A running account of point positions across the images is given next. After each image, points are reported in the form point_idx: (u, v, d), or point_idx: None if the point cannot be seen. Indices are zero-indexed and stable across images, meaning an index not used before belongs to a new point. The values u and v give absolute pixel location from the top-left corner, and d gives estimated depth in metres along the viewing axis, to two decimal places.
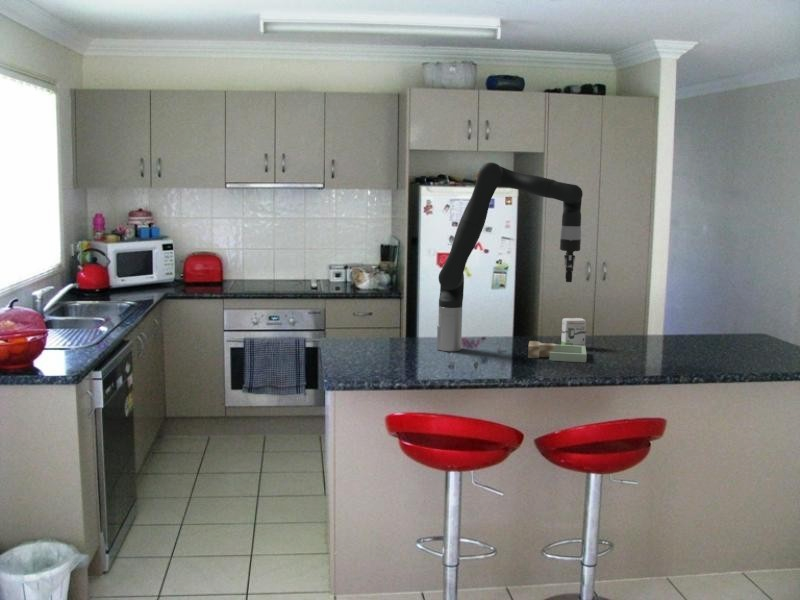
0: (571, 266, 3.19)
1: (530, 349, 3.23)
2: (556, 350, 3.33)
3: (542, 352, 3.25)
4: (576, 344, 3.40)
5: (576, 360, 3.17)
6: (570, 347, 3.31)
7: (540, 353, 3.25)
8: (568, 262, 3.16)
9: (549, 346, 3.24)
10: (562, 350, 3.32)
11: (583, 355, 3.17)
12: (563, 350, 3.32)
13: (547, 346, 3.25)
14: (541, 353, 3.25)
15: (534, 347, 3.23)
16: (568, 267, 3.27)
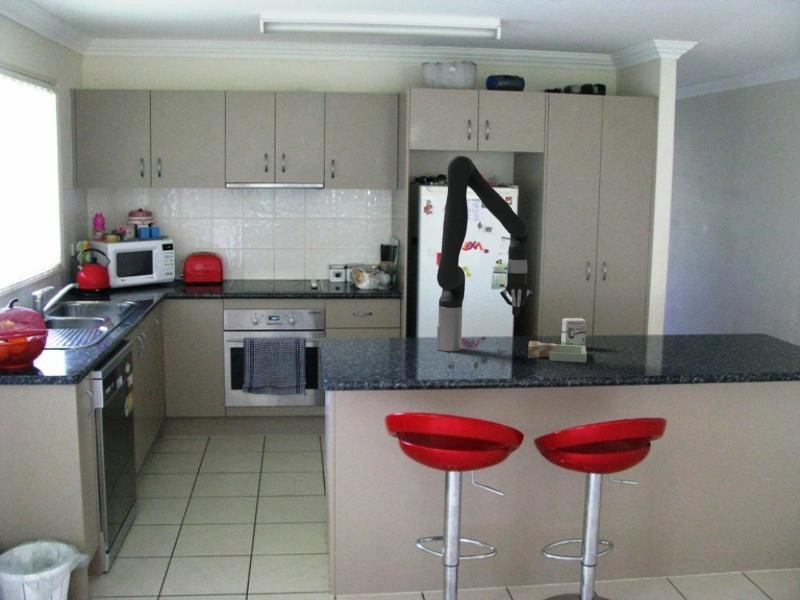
0: (519, 300, 3.27)
1: (530, 349, 3.23)
2: (556, 350, 3.33)
3: (542, 352, 3.25)
4: (576, 344, 3.40)
5: (576, 360, 3.17)
6: (570, 347, 3.31)
7: (540, 353, 3.25)
8: (528, 299, 3.25)
9: (549, 346, 3.24)
10: (562, 350, 3.32)
11: (583, 355, 3.17)
12: (563, 350, 3.32)
13: (547, 346, 3.25)
14: (541, 353, 3.25)
15: (534, 347, 3.23)
16: (515, 304, 3.26)
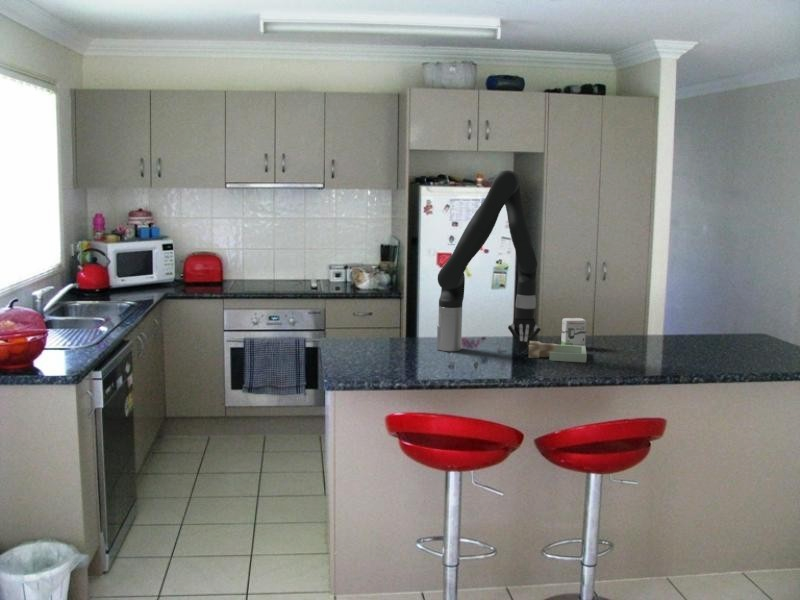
0: None
1: (530, 349, 3.23)
2: (556, 350, 3.33)
3: (542, 352, 3.25)
4: (576, 344, 3.40)
5: (576, 360, 3.17)
6: (570, 347, 3.31)
7: (540, 353, 3.25)
8: (536, 334, 3.26)
9: (549, 346, 3.24)
10: (562, 350, 3.32)
11: (583, 355, 3.17)
12: (563, 350, 3.32)
13: (547, 346, 3.25)
14: (542, 353, 3.25)
15: (534, 347, 3.22)
16: (522, 339, 3.28)
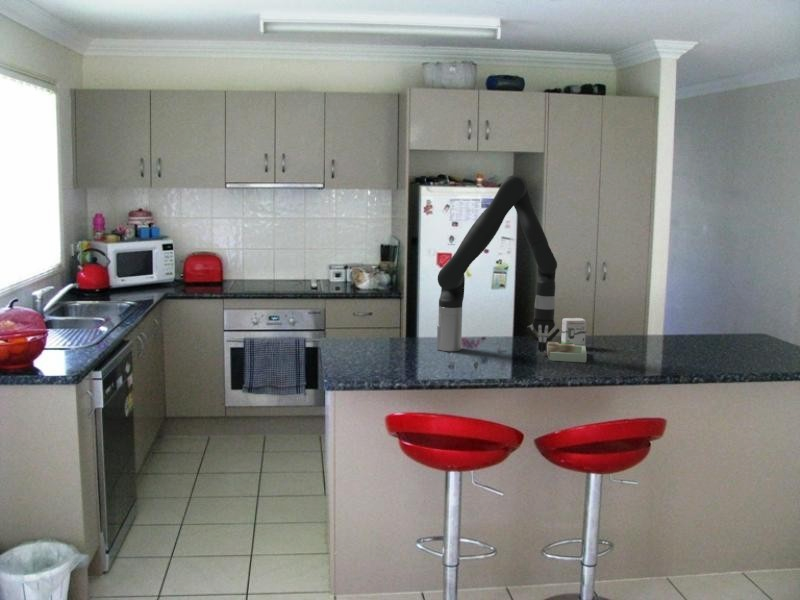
0: None
1: (550, 350, 3.22)
2: None
3: None
4: (576, 344, 3.40)
5: (576, 360, 3.17)
6: None
7: None
8: (555, 335, 3.25)
9: (569, 347, 3.24)
10: None
11: (583, 355, 3.17)
12: None
13: (567, 347, 3.24)
14: None
15: (554, 348, 3.21)
16: (541, 339, 3.26)
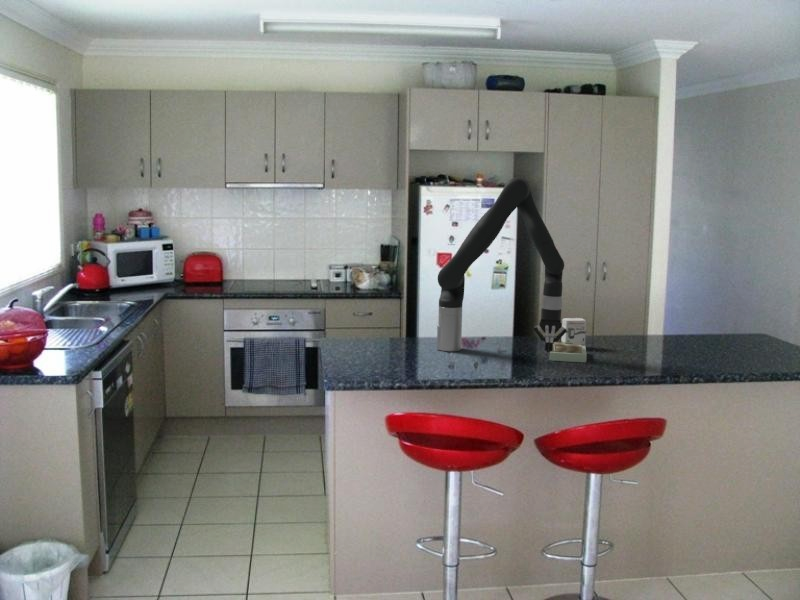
0: None
1: (558, 350, 3.21)
2: None
3: None
4: None
5: (576, 360, 3.17)
6: None
7: None
8: (562, 335, 3.24)
9: (576, 347, 3.23)
10: None
11: (583, 355, 3.17)
12: None
13: (574, 347, 3.23)
14: None
15: (562, 348, 3.21)
16: (548, 340, 3.26)
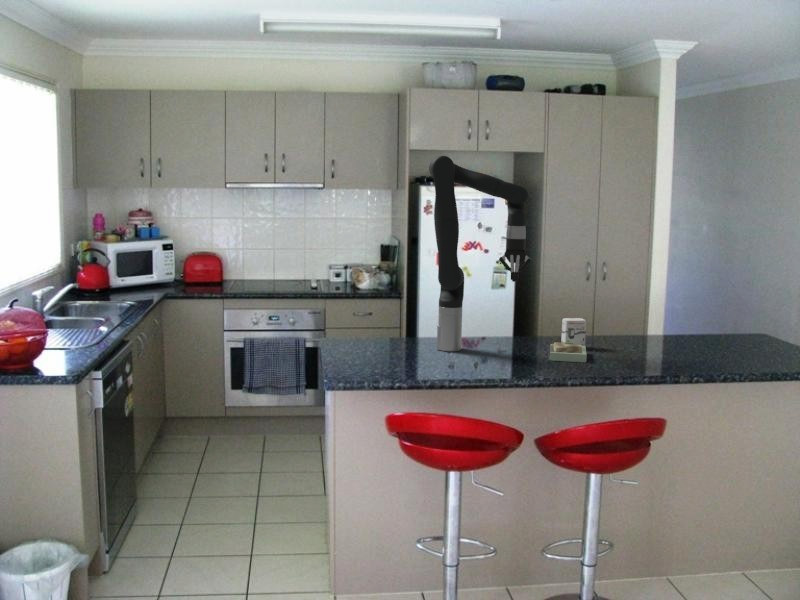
0: None
1: (557, 350, 3.21)
2: None
3: None
4: None
5: (576, 360, 3.17)
6: None
7: None
8: (526, 265, 3.33)
9: (576, 347, 3.23)
10: None
11: (583, 355, 3.17)
12: None
13: (574, 347, 3.23)
14: None
15: (562, 348, 3.21)
16: (513, 269, 3.34)
